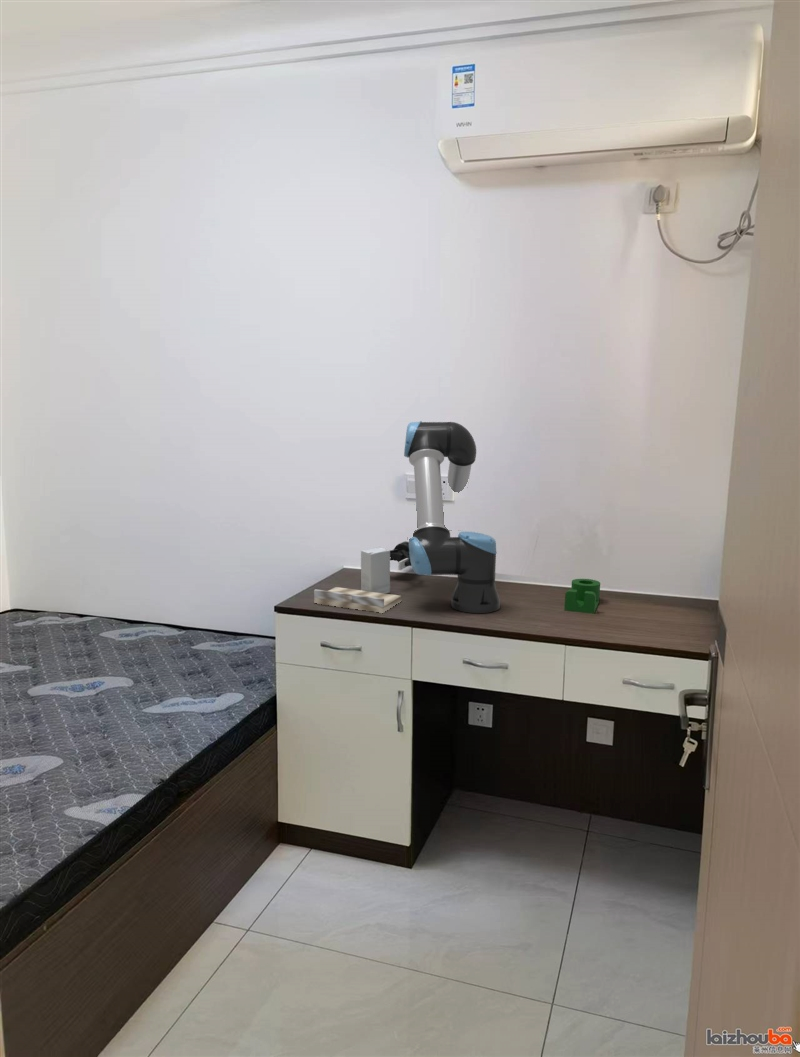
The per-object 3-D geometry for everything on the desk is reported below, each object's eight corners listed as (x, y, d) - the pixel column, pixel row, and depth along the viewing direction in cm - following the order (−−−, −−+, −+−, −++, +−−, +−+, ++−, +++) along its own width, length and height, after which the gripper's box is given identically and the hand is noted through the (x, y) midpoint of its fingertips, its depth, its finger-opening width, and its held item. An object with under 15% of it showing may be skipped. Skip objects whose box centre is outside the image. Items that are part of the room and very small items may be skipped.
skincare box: (379, 589, 258) (380, 546, 256) (390, 593, 254) (391, 549, 251) (359, 593, 253) (359, 549, 250) (370, 597, 248) (371, 552, 246)
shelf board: (401, 601, 244) (401, 588, 243) (382, 613, 231) (382, 599, 230) (335, 592, 253) (335, 580, 252) (313, 603, 240) (313, 590, 240)
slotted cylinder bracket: (572, 596, 253) (573, 577, 252) (600, 599, 250) (601, 580, 249) (564, 611, 237) (565, 590, 235) (593, 614, 233) (595, 594, 232)
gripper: (438, 565, 271) (414, 578, 252) (375, 558, 281) (348, 570, 262) (439, 544, 270) (415, 556, 251) (375, 538, 280) (348, 549, 261)
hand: (381, 563), depth 257 cm, fingers open, 13 cm apart
